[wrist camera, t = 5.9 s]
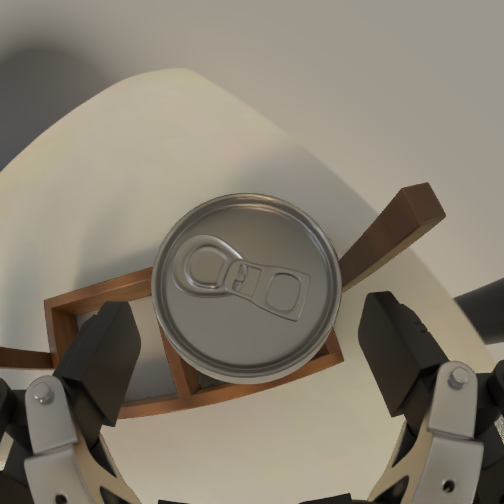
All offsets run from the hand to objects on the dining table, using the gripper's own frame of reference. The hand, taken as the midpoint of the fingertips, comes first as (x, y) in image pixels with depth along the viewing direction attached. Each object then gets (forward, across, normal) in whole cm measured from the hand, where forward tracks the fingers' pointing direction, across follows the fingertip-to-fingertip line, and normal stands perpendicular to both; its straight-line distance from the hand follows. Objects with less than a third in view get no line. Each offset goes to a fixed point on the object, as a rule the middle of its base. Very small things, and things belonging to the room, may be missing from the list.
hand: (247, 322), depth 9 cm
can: (+8, 0, +7) cm, 11 cm away
